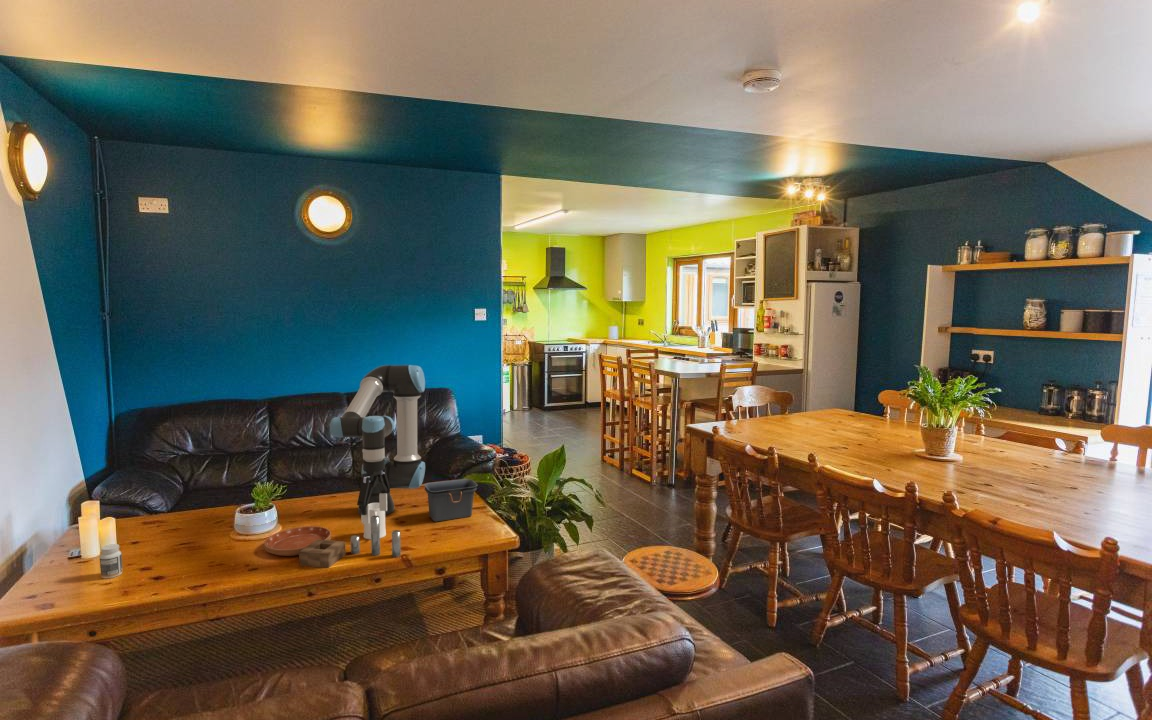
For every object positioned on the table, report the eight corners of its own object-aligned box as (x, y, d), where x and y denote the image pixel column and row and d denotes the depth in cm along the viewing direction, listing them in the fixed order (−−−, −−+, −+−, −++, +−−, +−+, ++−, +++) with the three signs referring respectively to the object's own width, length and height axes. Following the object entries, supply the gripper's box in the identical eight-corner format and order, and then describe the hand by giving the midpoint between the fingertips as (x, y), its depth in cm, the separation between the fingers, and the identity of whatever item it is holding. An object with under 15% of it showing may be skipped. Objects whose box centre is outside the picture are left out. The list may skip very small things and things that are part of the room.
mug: (386, 541, 230) (385, 511, 229) (362, 543, 227) (362, 513, 226) (386, 530, 241) (385, 501, 240) (363, 532, 238) (363, 503, 237)
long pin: (373, 552, 220) (373, 515, 219) (381, 552, 219) (380, 515, 218) (369, 555, 217) (369, 518, 216) (377, 556, 216) (376, 518, 215)
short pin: (353, 550, 221) (353, 534, 220) (361, 551, 221) (360, 535, 220) (349, 553, 218) (349, 538, 217) (357, 554, 218) (356, 538, 217)
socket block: (317, 552, 219) (317, 539, 218) (345, 554, 217) (345, 541, 217) (299, 565, 208) (299, 551, 208) (328, 567, 206) (328, 554, 206)
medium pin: (394, 553, 219) (394, 529, 218) (402, 554, 218) (401, 530, 217) (390, 557, 216) (390, 533, 215) (398, 557, 215) (398, 533, 214)
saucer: (254, 561, 212) (254, 551, 211) (276, 536, 234) (276, 527, 234) (322, 557, 215) (322, 547, 215) (337, 533, 238) (337, 524, 237)
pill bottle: (108, 571, 201) (107, 543, 201) (126, 571, 202) (125, 543, 201) (96, 579, 196) (94, 550, 195) (115, 579, 196) (113, 550, 195)
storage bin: (470, 508, 268) (469, 477, 267) (481, 519, 255) (481, 486, 253) (422, 515, 258) (422, 483, 257) (431, 527, 245) (431, 493, 243)
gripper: (380, 450, 228) (381, 505, 229) (345, 467, 203) (347, 528, 205) (398, 451, 227) (399, 506, 228) (366, 468, 202) (367, 529, 204)
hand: (374, 516), depth 216 cm, fingers open, 13 cm apart
